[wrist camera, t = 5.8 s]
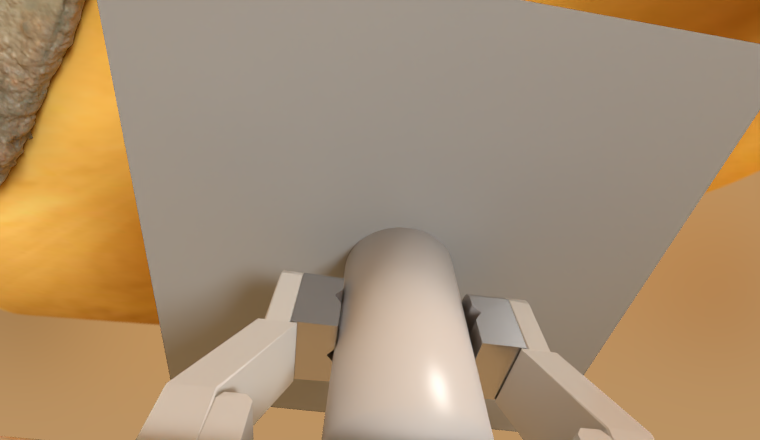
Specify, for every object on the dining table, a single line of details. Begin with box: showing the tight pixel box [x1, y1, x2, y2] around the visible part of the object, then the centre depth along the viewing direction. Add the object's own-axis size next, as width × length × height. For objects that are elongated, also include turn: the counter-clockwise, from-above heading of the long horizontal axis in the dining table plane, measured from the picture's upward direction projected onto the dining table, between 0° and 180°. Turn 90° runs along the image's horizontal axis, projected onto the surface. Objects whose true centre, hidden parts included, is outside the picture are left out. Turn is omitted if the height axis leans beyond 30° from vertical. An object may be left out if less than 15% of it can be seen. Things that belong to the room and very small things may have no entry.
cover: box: [97, 0, 760, 440], centre depth 14 cm, size 14×14×17 cm
